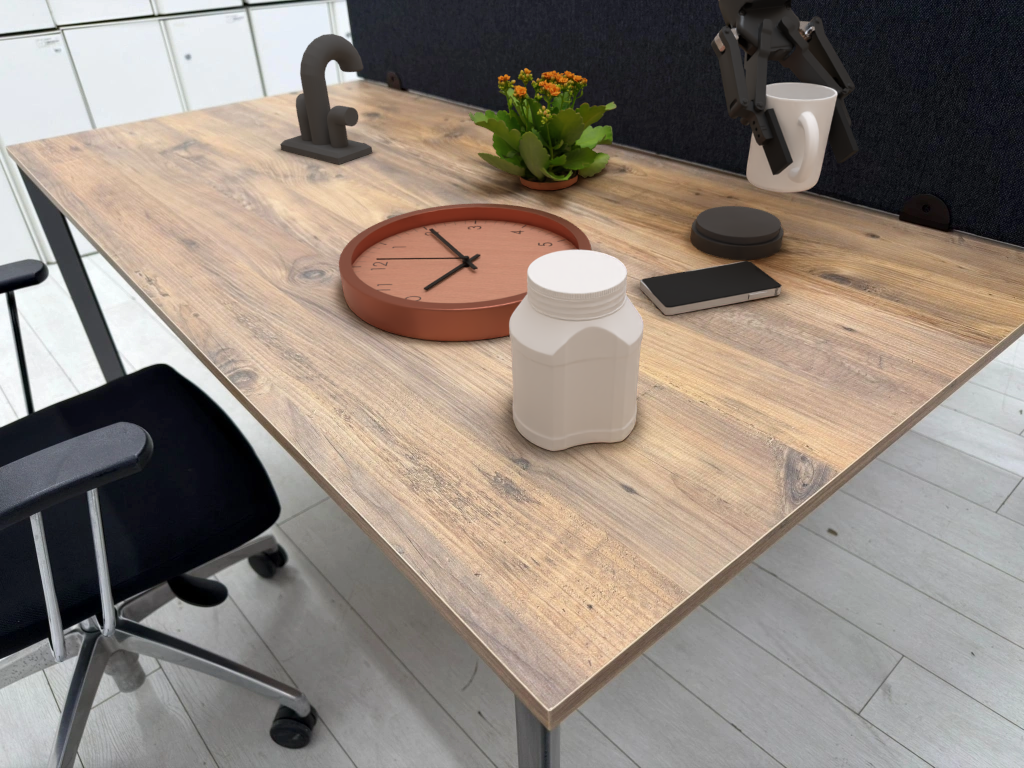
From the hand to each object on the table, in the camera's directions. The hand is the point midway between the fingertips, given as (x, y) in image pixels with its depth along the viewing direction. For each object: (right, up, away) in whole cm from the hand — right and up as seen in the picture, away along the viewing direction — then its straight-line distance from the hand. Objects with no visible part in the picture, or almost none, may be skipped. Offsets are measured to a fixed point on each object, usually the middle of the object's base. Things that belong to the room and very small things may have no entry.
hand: (816, 162), depth 80 cm
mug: (-2, -2, +4) cm, 5 cm away
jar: (-28, -28, -12) cm, 41 cm away
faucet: (-68, +22, +62) cm, 94 cm away
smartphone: (-10, -14, +7) cm, 18 cm away
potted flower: (-28, +9, +41) cm, 50 cm away
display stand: (-3, -5, +19) cm, 20 cm away
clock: (-40, -11, +12) cm, 43 cm away
